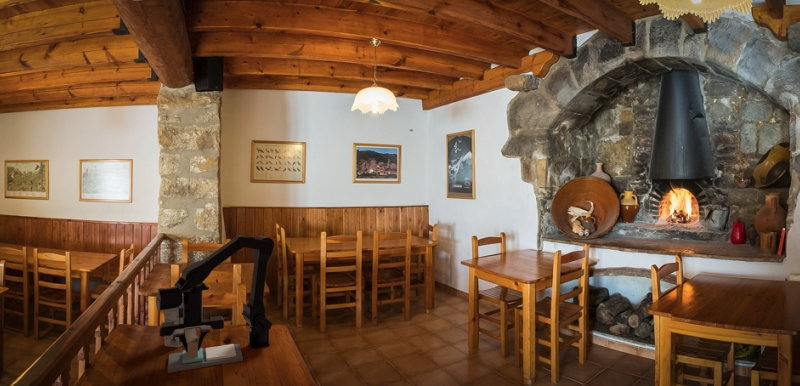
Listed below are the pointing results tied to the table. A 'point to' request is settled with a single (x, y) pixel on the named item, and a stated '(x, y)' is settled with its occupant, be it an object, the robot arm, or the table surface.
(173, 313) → the coffee box
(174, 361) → the board
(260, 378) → the table surface
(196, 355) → the stub
